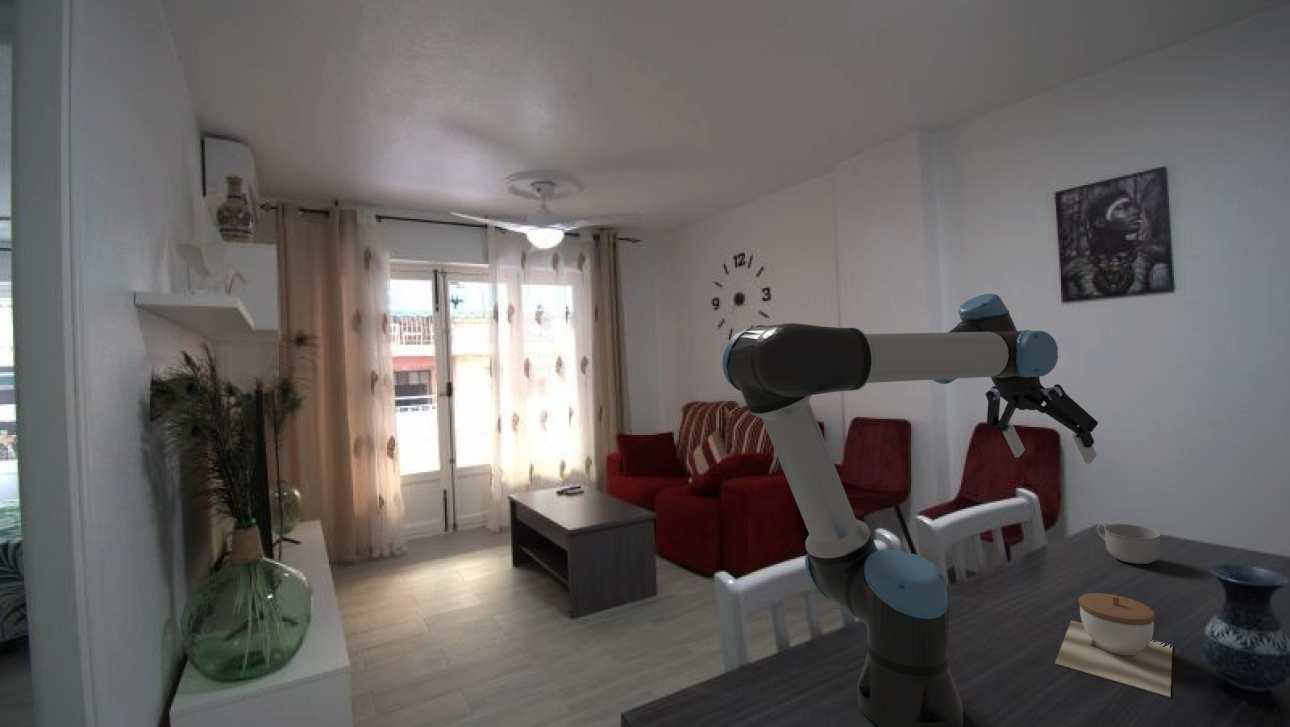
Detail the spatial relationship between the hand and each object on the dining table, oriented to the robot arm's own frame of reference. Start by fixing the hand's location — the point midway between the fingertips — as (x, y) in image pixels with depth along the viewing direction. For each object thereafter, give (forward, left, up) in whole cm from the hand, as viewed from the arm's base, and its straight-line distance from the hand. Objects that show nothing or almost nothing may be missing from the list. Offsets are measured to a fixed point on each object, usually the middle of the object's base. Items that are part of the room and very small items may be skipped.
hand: (1053, 456), depth 114 cm
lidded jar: (-6, -10, -34) cm, 35 cm away
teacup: (+49, -8, -34) cm, 60 cm away
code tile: (-9, -10, -34) cm, 36 cm away
